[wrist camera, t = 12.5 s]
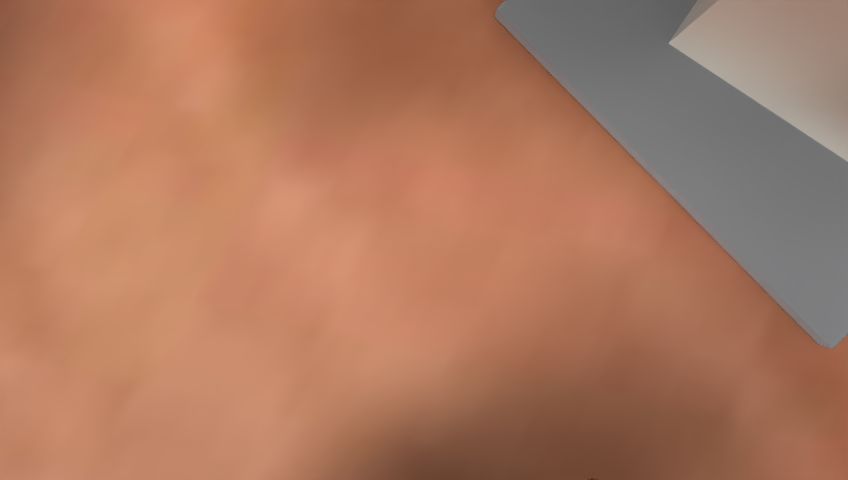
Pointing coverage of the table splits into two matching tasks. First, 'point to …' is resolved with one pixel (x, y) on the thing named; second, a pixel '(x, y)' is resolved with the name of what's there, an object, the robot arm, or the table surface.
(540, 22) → the mat
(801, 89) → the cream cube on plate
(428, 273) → the table surface
